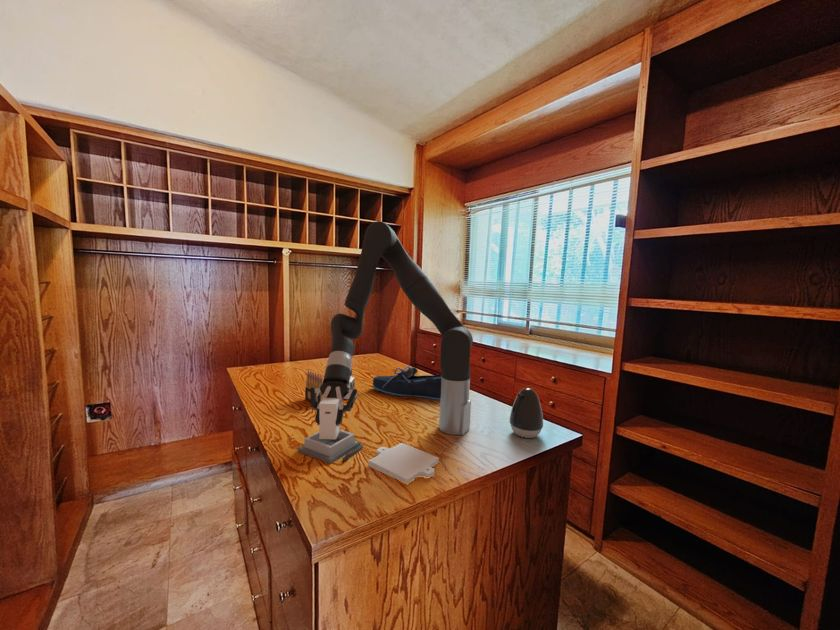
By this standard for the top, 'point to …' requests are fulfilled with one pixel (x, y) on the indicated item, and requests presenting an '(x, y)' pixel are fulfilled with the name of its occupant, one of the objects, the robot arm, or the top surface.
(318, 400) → the pencil set
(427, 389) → the moccasin
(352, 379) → the medicine bottle
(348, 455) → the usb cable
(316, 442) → the grey square tray
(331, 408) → the charger
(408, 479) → the mounting plate
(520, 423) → the dark grey egg shape
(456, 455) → the top surface
